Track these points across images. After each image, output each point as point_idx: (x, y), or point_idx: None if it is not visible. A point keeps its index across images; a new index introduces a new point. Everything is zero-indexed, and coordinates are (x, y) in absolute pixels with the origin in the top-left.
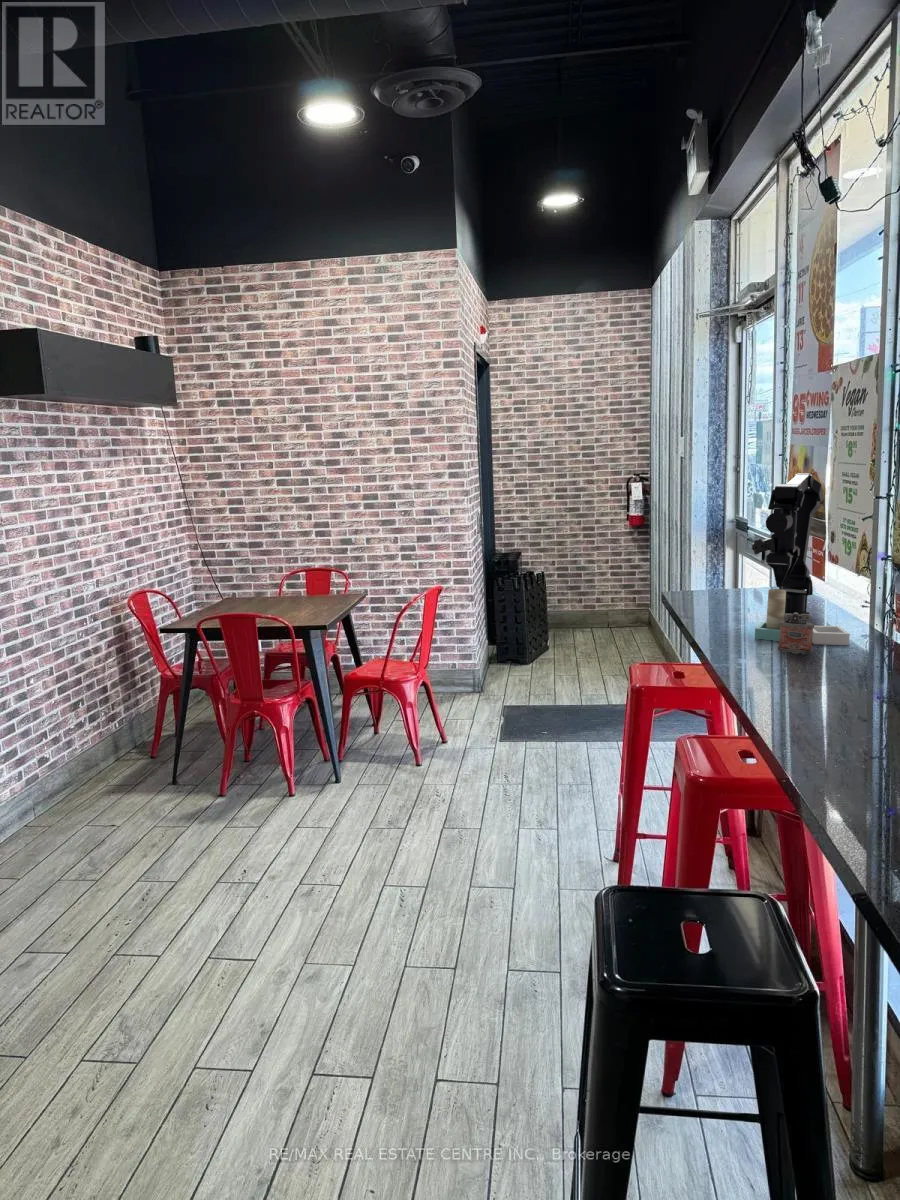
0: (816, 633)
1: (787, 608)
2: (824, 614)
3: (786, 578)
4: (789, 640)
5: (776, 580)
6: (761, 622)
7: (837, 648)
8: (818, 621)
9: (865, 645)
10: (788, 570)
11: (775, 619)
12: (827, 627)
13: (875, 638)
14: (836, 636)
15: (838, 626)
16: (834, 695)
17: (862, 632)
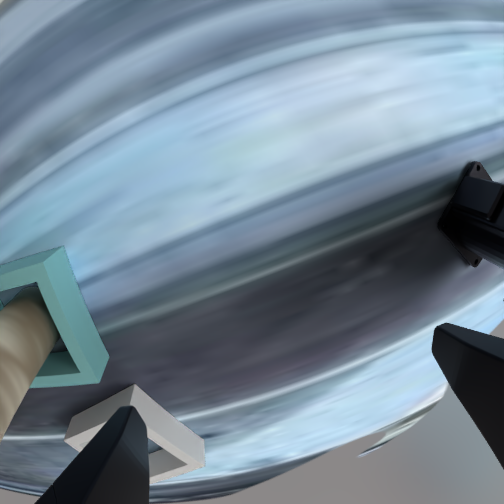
0: (67, 442)
1: (461, 209)
2: (483, 295)
3: (445, 373)
4: None
5: (88, 455)
6: (34, 267)
7: None
8: (393, 329)
9: (165, 481)
10: (492, 425)
11: None
12: (168, 450)
13: (252, 478)
14: None
15: (197, 465)
16: None
17: (302, 449)
